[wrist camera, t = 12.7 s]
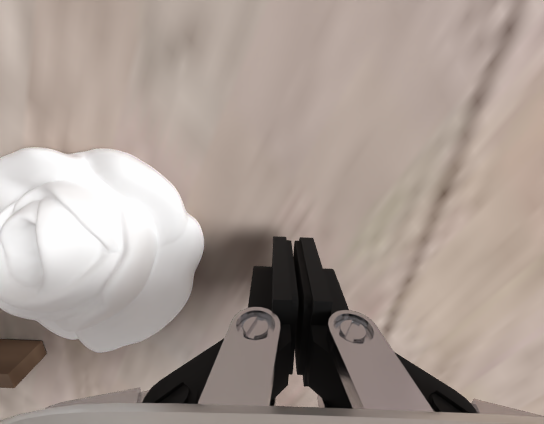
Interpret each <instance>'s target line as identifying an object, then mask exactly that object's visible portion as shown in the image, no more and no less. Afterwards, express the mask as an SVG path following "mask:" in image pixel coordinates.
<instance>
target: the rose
mask: <svg viewBox="0 0 544 424" xmlns="http://www.w3.org/2000/svg"><path fill="white" fill-rule="evenodd" d="M203 250H204V237H203V233H202V229H201V227H200V225H199V223H198V221H197V220H196V219H195V218H194V217H192V216H191V215H190V214H188V213H187V212H186V210H185V207H184V205H183V202H182V199H181V197H180V195H179V193H178V191H177V190H176V188H175V187H174V186H173V185H172V184H171V182H169V181H168V180H167V179H166V178H165V177H164V176H163V175H162V174H160V173H159V172H158V171H157V170H155V169H154V168H153V167H151V166H150V165H148V164H147V163H145V162H143V161H142V160H140V159H138V158H137V157H135V156H133V155H131V154H129V153H126V152H123V151H120V150H115V149H108V148H97V149H92V150H89V151H85V152H77V153H72V154H65V153H62V152H59V151H56V150H53V149H48V148H40V147H29V148H24V149H20V150H18V151H16V152H14V153H10V154H7V155H5V156H3V157H1V158H0V308H1V309H2V310H4V311H5V312H7V313H9V314H11V315H14V316H18V317H21V318H25V319H30V320H36V321H37V322H39V323H40V324H41V325H42V326H44V327H45V328H47V329H48V330H49V331H51V332H52V333H54V334H56V335H58V336H61V337H63V338H66V339H70V340H75V339H79V340H80V341H81V342H82V343H83V344H84V345H85V346H86V347H87V348H88V349H90V350H92V351H94V352H98V353H103V352H108V351H112V350H115V349H118V348H121V347H123V346H126V345H130V344H134V343H138V342H141V341H143V340H145V339H147V338H149V337H151V336H152V335H154V334H156V333H157V332H158V331H160V330H161V329H163V328H164V327H165V326H166V325H167V324H168V323H170V322H171V321H172V320H173V319H174V318H175V317H176V316H177V314H178V313H179V312H180V311H181V310H182V308H183V307H184V306H185V304H186V302H187V301H188V299H189V297H190V294H191V291H192V287H193V279H194V273H195V270H196V268H197V266H198V264H199V262H200V260H201V257H202V254H203Z"/></svg>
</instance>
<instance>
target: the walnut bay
mask: <svg viewBox="0 0 544 424" xmlns="http://www.w3.org/2000/svg"><path fill="white" fill-rule="evenodd" d="M46 354H47V353H46V351H45V348H44V345H43V342H42V341H31V340H7V339H0V387H1V388H15V387H16V386H17V385H18V384H19V383H20V382H21V381H22V379H23V378H24V377H25V376H26V375H27V374H28V373H29V372H30V371H31V370H32V369H33V368H34V367H35V366H36V365H37V364H38V363H39V362H40V360H41V359H42V358H43V357H44V356H45V355H46Z"/></svg>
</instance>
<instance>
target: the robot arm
mask: <svg viewBox="0 0 544 424" xmlns="http://www.w3.org/2000/svg"><path fill="white" fill-rule="evenodd" d="M294 351H295V358H296V369H297V375H303V382H304V386H309V387H310V388H311V389H312V390H314V391H315V392H316V393H317V394H318V397H317V399H318V405H319V408H316V407H285V406H275V405H276V396H277V395H278V394H279V393H280V392H281V391H282V390H283V389H284V388H285V387H286V386H287V385H288V376H289V374H292V373H293V362H294ZM0 424H544V416H541V415H537V414H533V413H529V412H525V411H521V410H517V409H513V408H509V407H505V406H501V405H497V404H493V403H489V402H485V401H481V400H477V399H473V401H472V403H470V402H469V401H468V400H467V399H466V398H465V397H463V396H462V395H461V394H459V393H458V392H457V391H455V390H454V389H452V388H451V387H449V386H447V385H446V384H444V383H443V382H441V381H439V380H438V379H436V378H435V377H433V376H431V375H430V374H428V373H427V372H425V371H423V370H422V369H420V368H419V367H417V366H415V365H414V364H412V363H411V362H409V361H407V360H406V359H404V358H403V357H401V356H400V355H398V354H396V353H395V352H394V351H393V350H392V348H391V347H390V345H389V344H388V342H387V341H386V339H385V338H384V336H383V335H382V333H381V332H380V330H379V329H378V327H377V326H376V325H375V323H374V322H373V321H372V320H371V319H369V318H368V317H367V316H365V315H363V314H361V313H359V312H356V311H352V310H349V309H348V306H347V304H346V301H345V298H344V296H343V293H342V290H341V288H340V285H339V282H338V280H337V277H336V275H335V272H334V270H333V269H323V268H322V265H321V262H320V258H319V255H318V252H317V249H316V245H315V242H314V239H313V238H300V239H299V241H295V243H294V256H293V251H292V243H291V241H289V240H286V237H273V257H272V267H263V266H254V268H253V275H252V282H251V290H250V297H249V304H248V308H246V309H244V310H242V311H240V312H239V313H237V314H236V315H235V316H234V318H233V319H232V321H231V324H230V326H229V329H228V331H227V333H226V336H225V338H224V339H222V340H221V341H219V342H218V343H216V344H215V345H213V346H212V347H210V348H209V349H207V350H206V351H204V352H203V353H201V354H200V355H198V356H197V357H195V358H194V359H192V360H190V361H189V362H187V363H186V364H184V365H183V366H181V367H180V368H178V369H177V370H175V371H174V372H172V373H171V374H169V375H168V376H166V377H165V378H163V379H162V380H160V381H159V382H158V383H157V384H155V385H154V386H153V387H152V388H151V389H150V390H149V391H144V392H141V389H140V388H135V389H129V390H124V391H119V392H114V393H108V394H103V395H98V396H92V397H87V398H82V399H76V400H71V401H66V402H61V403H58V404H55V405H52V406H49V407H47V408H45V409H42V410H37V411H33V412H28V413H23V414H19V415H16V416H13V417H10V418H6V419H3V420H0Z"/></svg>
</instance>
